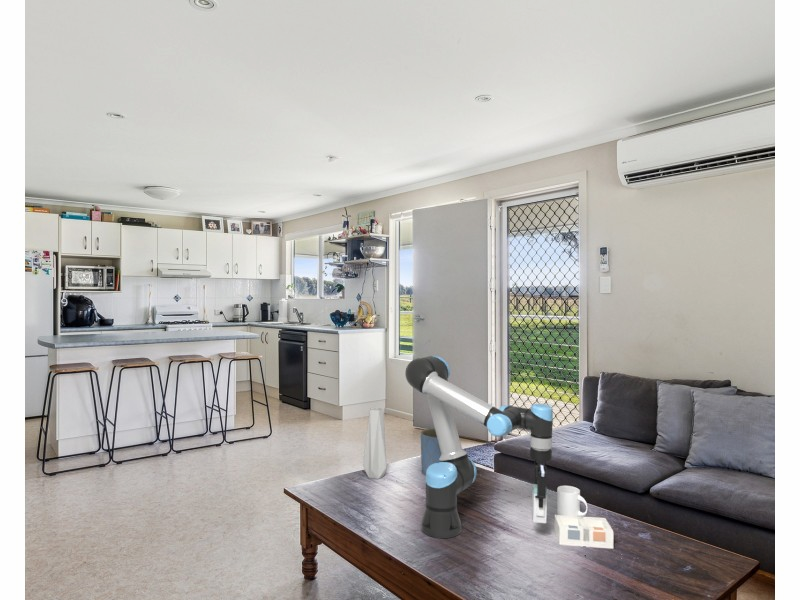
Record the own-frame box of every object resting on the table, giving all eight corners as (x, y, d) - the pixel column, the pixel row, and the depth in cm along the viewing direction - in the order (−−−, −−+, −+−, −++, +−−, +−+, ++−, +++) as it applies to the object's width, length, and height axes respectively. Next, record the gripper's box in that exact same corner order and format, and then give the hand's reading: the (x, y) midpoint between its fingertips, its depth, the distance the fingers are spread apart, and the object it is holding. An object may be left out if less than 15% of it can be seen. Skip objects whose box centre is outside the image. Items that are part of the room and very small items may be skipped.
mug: (582, 525, 192) (582, 497, 192) (553, 516, 200) (553, 489, 200) (591, 518, 198) (592, 491, 198) (563, 510, 206) (563, 483, 206)
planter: (418, 477, 244) (418, 436, 244) (422, 465, 262) (423, 427, 263) (457, 480, 241) (457, 438, 241) (459, 467, 259) (459, 429, 260)
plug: (533, 522, 179) (534, 488, 179) (531, 516, 183) (532, 484, 183) (546, 523, 178) (547, 489, 178) (544, 517, 183) (545, 485, 183)
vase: (379, 482, 237) (379, 412, 237) (359, 477, 243) (360, 409, 243) (393, 475, 247) (393, 408, 247) (374, 471, 253) (374, 405, 254)
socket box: (559, 545, 176) (559, 527, 176) (554, 530, 187) (554, 514, 187) (613, 549, 173) (613, 531, 173) (605, 534, 184) (605, 517, 184)
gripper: (555, 456, 171) (553, 524, 171) (548, 441, 189) (546, 503, 189) (533, 454, 173) (531, 522, 173) (527, 440, 190) (525, 501, 190)
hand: (539, 512), depth 181 cm, fingers closed on plug, 4 cm apart
